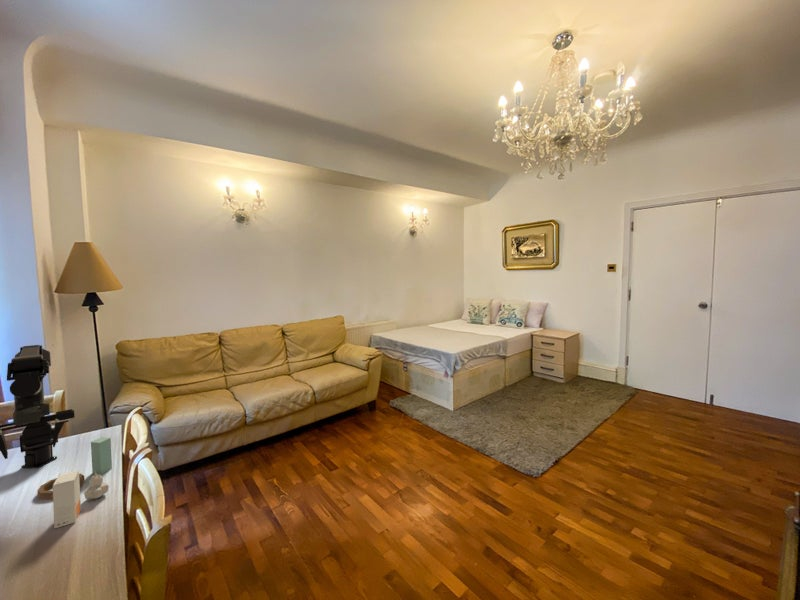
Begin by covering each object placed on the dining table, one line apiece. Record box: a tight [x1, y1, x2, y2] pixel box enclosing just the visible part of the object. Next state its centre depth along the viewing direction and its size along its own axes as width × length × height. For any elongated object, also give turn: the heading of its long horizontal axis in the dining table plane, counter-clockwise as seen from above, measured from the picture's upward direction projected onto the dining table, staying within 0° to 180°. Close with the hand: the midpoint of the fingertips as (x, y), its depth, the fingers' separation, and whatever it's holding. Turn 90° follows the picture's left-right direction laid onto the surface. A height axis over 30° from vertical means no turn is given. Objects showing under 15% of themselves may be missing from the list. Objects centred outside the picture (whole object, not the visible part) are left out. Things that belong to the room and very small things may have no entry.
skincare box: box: [52, 470, 82, 529], centre depth 90 cm, size 6×4×12 cm
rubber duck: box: [83, 472, 109, 500], centre depth 99 cm, size 5×7×8 cm
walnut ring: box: [36, 473, 85, 500], centre depth 104 cm, size 10×10×2 cm
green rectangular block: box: [90, 436, 113, 475], centre depth 114 cm, size 4×4×11 cm
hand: (30, 452), depth 95 cm, fingers open, 9 cm apart
